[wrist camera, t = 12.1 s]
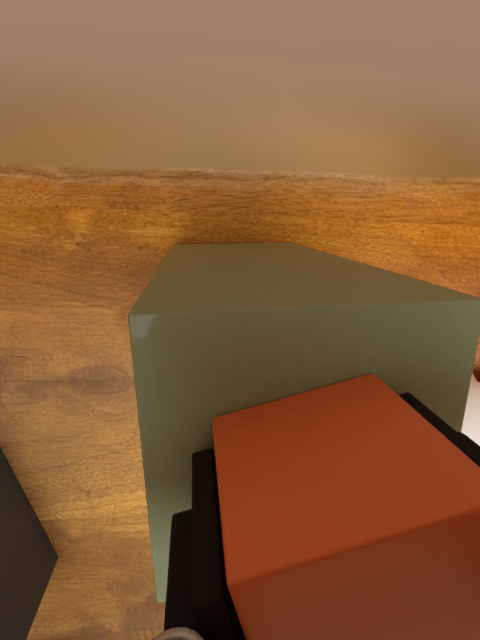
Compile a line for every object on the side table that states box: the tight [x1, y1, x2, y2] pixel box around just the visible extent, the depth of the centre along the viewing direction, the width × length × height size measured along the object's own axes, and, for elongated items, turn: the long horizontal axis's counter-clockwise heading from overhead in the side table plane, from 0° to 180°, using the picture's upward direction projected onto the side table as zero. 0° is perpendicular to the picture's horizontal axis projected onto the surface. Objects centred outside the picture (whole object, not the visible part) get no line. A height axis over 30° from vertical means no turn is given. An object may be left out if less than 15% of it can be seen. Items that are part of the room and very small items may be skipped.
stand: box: [128, 242, 480, 602], centre depth 20 cm, size 9×9×20 cm
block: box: [212, 374, 480, 640], centre depth 8 cm, size 4×4×4 cm
